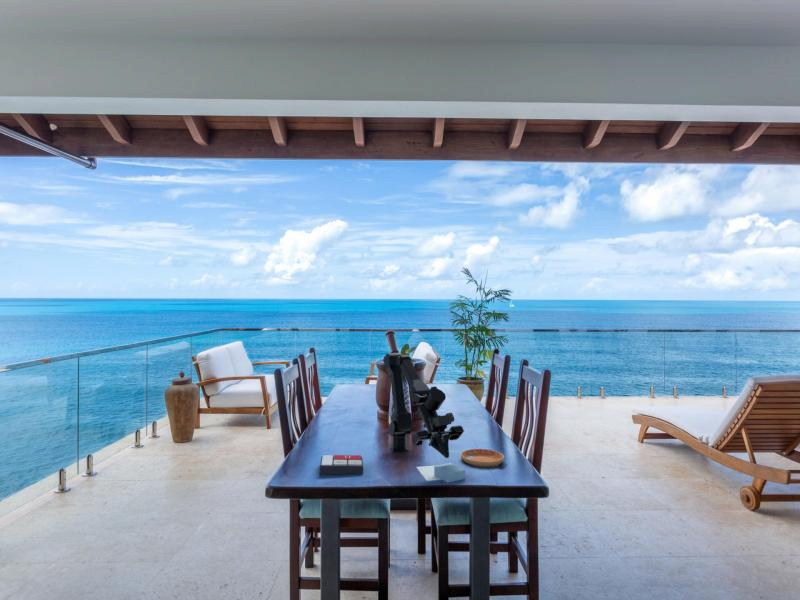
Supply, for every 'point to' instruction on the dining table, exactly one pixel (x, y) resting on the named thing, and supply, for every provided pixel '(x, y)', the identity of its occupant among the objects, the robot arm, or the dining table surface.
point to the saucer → (482, 457)
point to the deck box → (449, 472)
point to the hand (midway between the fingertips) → (447, 457)
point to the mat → (428, 473)
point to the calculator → (341, 465)
